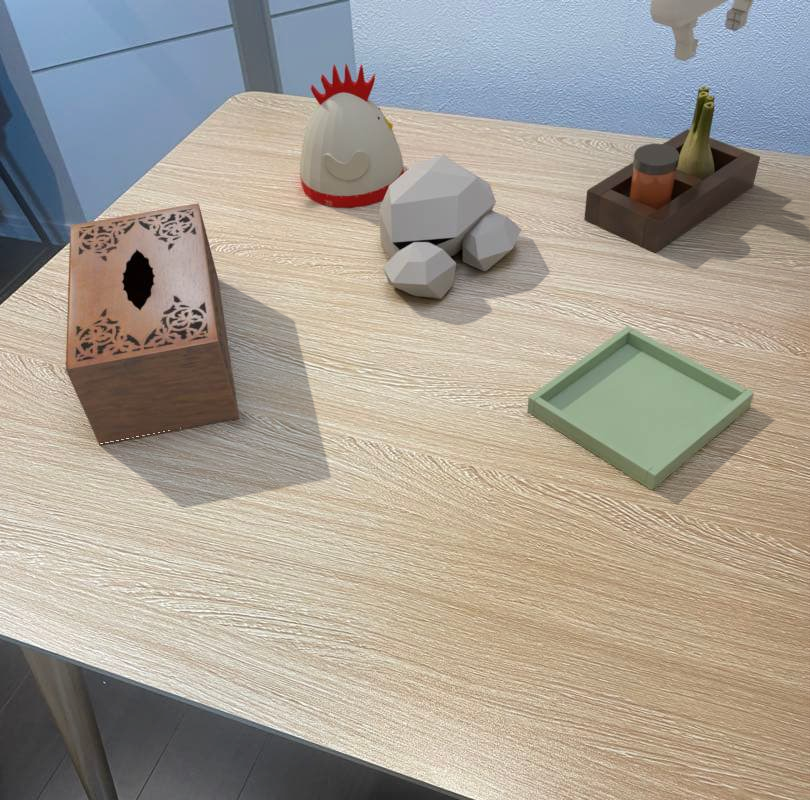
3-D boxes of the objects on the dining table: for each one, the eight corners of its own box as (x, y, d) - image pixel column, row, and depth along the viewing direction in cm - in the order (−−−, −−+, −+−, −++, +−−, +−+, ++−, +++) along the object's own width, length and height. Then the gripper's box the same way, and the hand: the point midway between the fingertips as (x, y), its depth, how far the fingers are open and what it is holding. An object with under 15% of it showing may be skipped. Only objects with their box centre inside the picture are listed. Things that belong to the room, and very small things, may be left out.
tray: (749, 407, 91) (754, 392, 90) (651, 490, 85) (655, 475, 83) (625, 340, 99) (627, 325, 97) (527, 411, 93) (528, 396, 91)
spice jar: (677, 216, 114) (688, 153, 107) (650, 234, 111) (661, 170, 105) (643, 201, 116) (652, 138, 110) (617, 218, 114) (625, 155, 108)
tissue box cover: (239, 418, 95) (217, 341, 87) (99, 445, 94) (65, 369, 86) (218, 278, 111) (198, 203, 104) (99, 300, 110) (70, 225, 102)
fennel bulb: (680, 174, 120) (697, 80, 111) (717, 181, 118) (737, 87, 109) (664, 195, 117) (680, 101, 108) (702, 204, 115) (721, 108, 106)
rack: (753, 186, 117) (760, 156, 114) (655, 253, 109) (660, 223, 106) (682, 158, 122) (687, 128, 119) (583, 219, 114) (586, 189, 111)
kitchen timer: (402, 205, 119) (394, 88, 108) (298, 210, 120) (278, 95, 108) (404, 151, 128) (396, 38, 117) (306, 156, 129) (289, 44, 117)
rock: (543, 243, 112) (547, 168, 104) (434, 324, 103) (430, 248, 96) (432, 196, 120) (429, 123, 113) (322, 266, 111) (311, 193, 104)
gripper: (702, -70, 83) (677, 85, 94) (821, -130, 92) (786, 18, 102) (645, -83, 86) (627, 68, 97) (765, -140, 95) (737, 5, 105)
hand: (710, 42), depth 100 cm, fingers open, 8 cm apart
